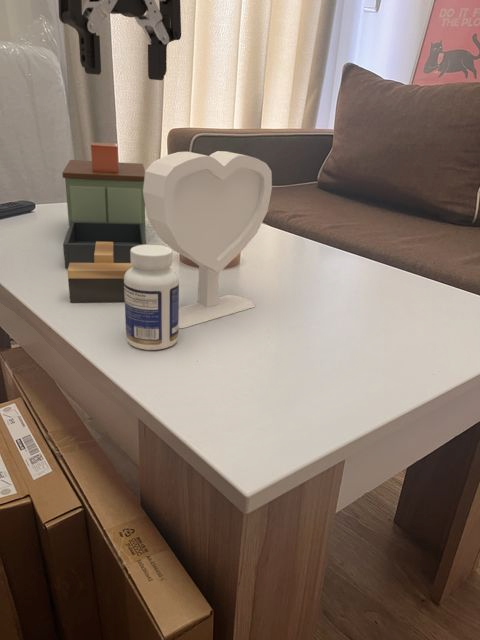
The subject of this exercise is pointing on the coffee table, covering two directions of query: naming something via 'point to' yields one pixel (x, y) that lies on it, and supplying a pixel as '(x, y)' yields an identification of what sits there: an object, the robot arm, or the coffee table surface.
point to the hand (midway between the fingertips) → (125, 77)
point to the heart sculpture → (207, 218)
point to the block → (104, 157)
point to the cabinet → (105, 193)
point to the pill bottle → (151, 298)
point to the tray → (101, 240)
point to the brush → (98, 277)
